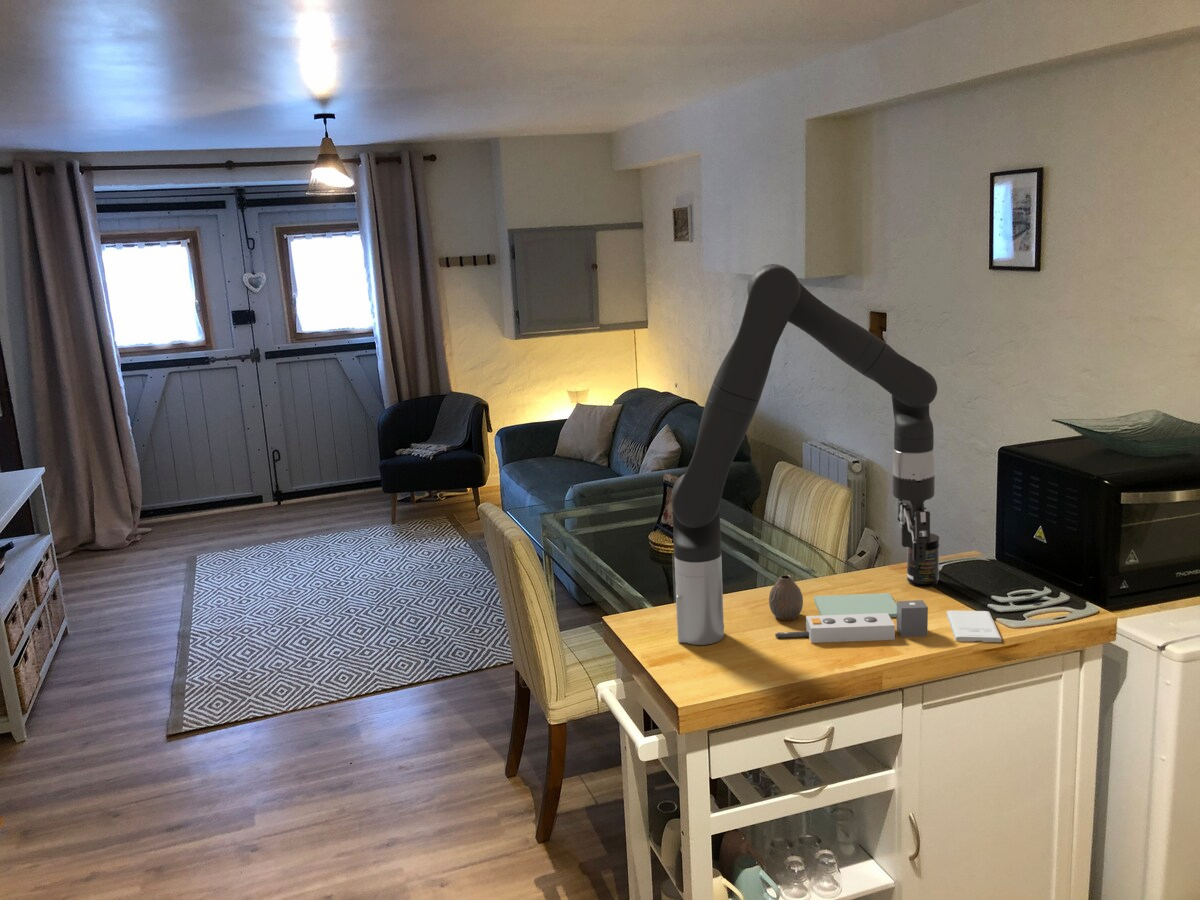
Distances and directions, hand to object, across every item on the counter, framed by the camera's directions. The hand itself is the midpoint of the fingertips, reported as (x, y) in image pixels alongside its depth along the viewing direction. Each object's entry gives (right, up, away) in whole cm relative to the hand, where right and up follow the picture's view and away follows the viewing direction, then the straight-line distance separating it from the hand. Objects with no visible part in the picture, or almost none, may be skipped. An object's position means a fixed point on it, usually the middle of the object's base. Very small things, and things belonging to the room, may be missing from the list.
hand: (913, 553), depth 189 cm
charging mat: (-6, -13, +17) cm, 22 cm away
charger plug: (+1, -16, +4) cm, 16 cm away
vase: (-22, -15, +15) cm, 30 cm away
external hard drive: (+13, -16, +4) cm, 21 cm away
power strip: (-14, -17, +5) cm, 22 cm away
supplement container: (+11, -9, +29) cm, 32 cm away
